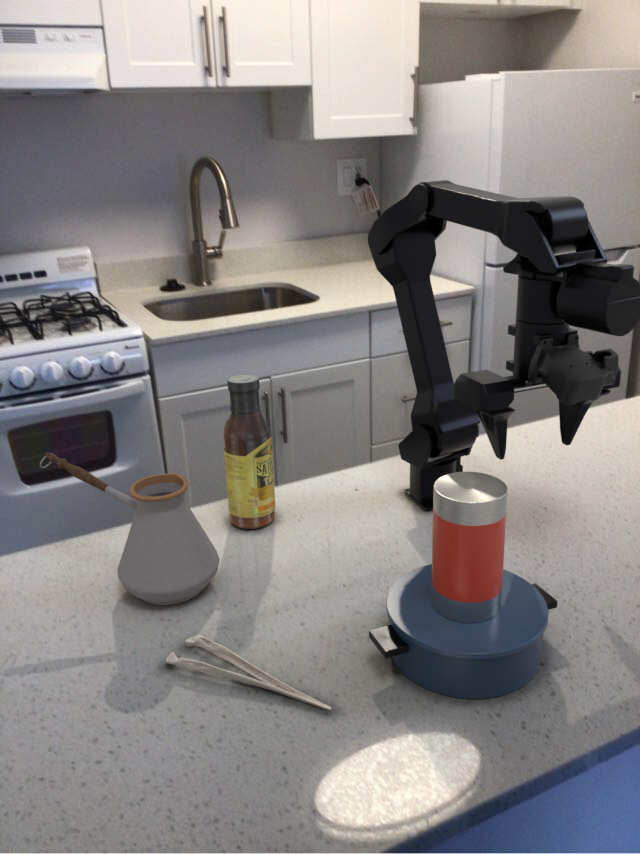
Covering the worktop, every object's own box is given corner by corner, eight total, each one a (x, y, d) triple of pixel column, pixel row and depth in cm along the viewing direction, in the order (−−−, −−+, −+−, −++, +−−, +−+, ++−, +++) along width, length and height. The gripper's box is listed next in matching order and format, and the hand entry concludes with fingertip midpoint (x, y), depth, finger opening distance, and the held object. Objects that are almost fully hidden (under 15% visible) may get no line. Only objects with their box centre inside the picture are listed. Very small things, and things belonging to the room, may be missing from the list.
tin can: (440, 578, 77) (443, 467, 73) (506, 590, 75) (513, 476, 70) (423, 615, 72) (425, 496, 67) (494, 629, 69) (500, 507, 65)
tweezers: (162, 668, 74) (161, 651, 73) (193, 641, 78) (192, 625, 77) (317, 738, 66) (318, 721, 65) (343, 705, 70) (344, 688, 69)
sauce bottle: (269, 533, 98) (259, 387, 91) (223, 530, 100) (210, 386, 92) (281, 510, 104) (273, 371, 97) (238, 507, 105) (226, 370, 98)
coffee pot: (238, 569, 90) (228, 453, 85) (188, 624, 80) (173, 497, 75) (92, 541, 98) (74, 434, 93) (30, 588, 88) (6, 471, 83)
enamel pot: (416, 728, 65) (416, 679, 63) (344, 629, 79) (343, 586, 77) (595, 667, 72) (600, 621, 70) (500, 585, 85) (502, 545, 83)
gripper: (515, 346, 72) (506, 494, 77) (666, 323, 78) (648, 461, 84) (453, 323, 81) (449, 456, 87) (592, 303, 88) (580, 429, 93)
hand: (533, 451), depth 87 cm, fingers open, 9 cm apart
